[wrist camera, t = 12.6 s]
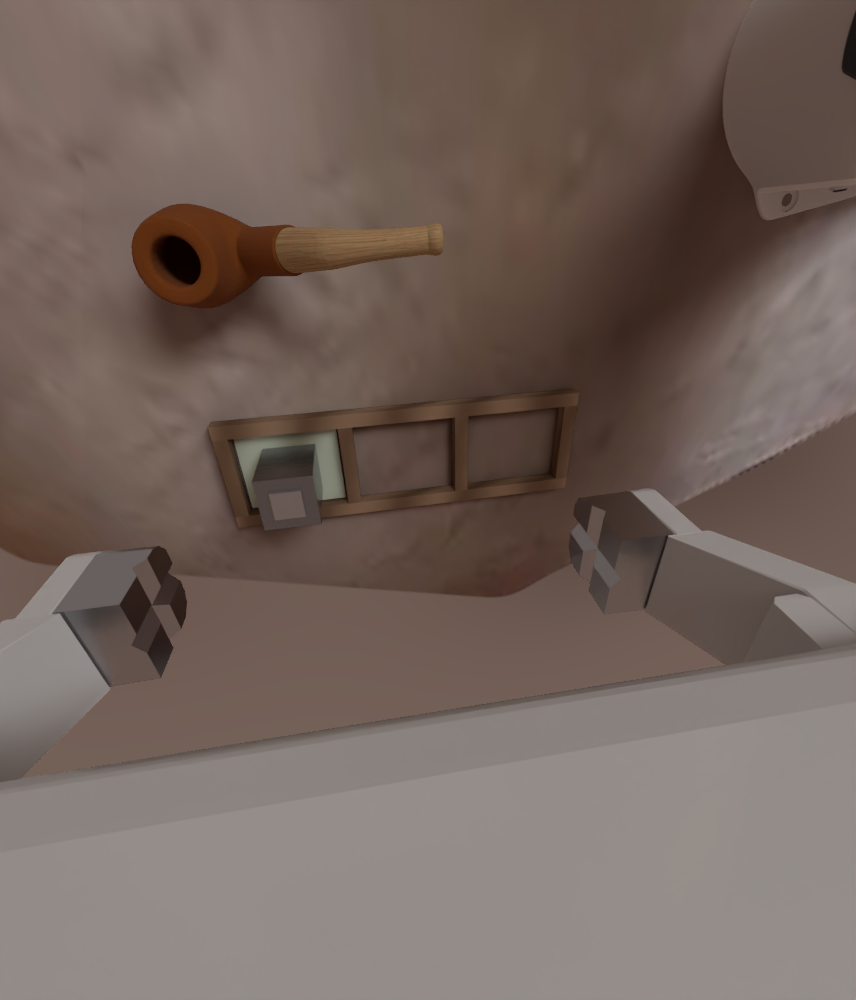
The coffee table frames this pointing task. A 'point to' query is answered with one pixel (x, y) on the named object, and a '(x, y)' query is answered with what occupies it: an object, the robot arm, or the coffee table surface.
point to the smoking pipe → (253, 252)
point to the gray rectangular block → (288, 487)
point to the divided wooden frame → (323, 425)
